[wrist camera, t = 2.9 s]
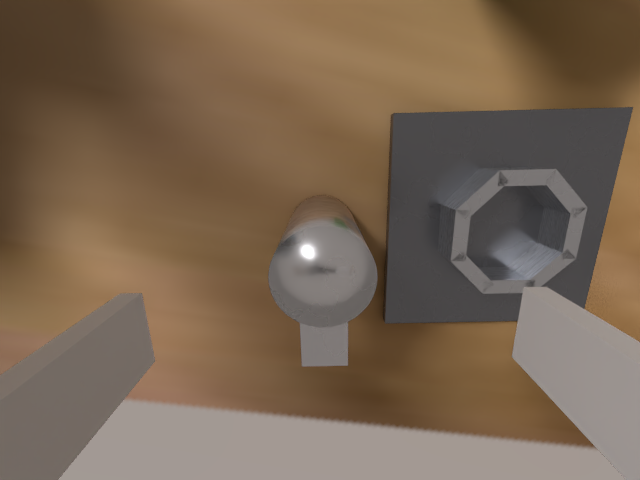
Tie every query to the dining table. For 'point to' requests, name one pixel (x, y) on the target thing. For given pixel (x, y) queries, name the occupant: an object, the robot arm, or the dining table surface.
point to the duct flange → (495, 208)
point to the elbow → (322, 277)
